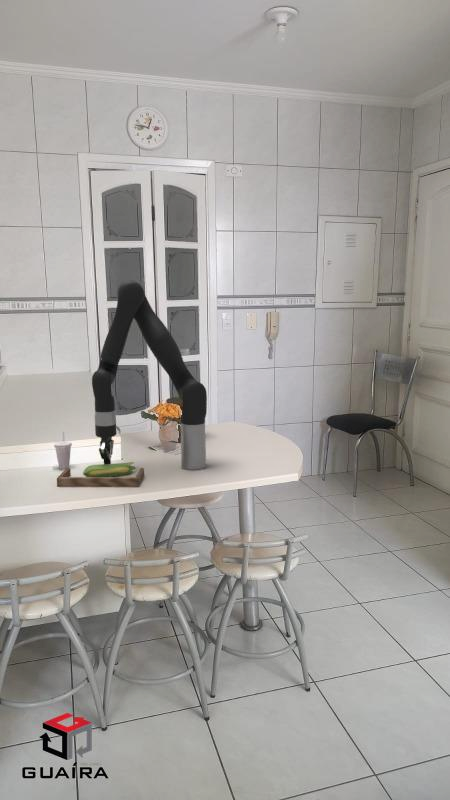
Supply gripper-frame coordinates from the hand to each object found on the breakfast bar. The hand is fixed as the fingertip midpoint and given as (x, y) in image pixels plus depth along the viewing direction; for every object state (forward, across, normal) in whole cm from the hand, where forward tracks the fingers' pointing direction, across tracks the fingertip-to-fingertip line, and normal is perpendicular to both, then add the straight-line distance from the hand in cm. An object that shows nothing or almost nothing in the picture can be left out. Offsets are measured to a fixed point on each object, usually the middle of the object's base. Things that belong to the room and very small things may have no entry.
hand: (107, 468), depth 206 cm
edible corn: (+2, -4, -2) cm, 5 cm away
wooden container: (+2, +50, -22) cm, 55 cm away
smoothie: (+2, +5, +18) cm, 19 cm away
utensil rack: (+2, -10, 0) cm, 10 cm away
